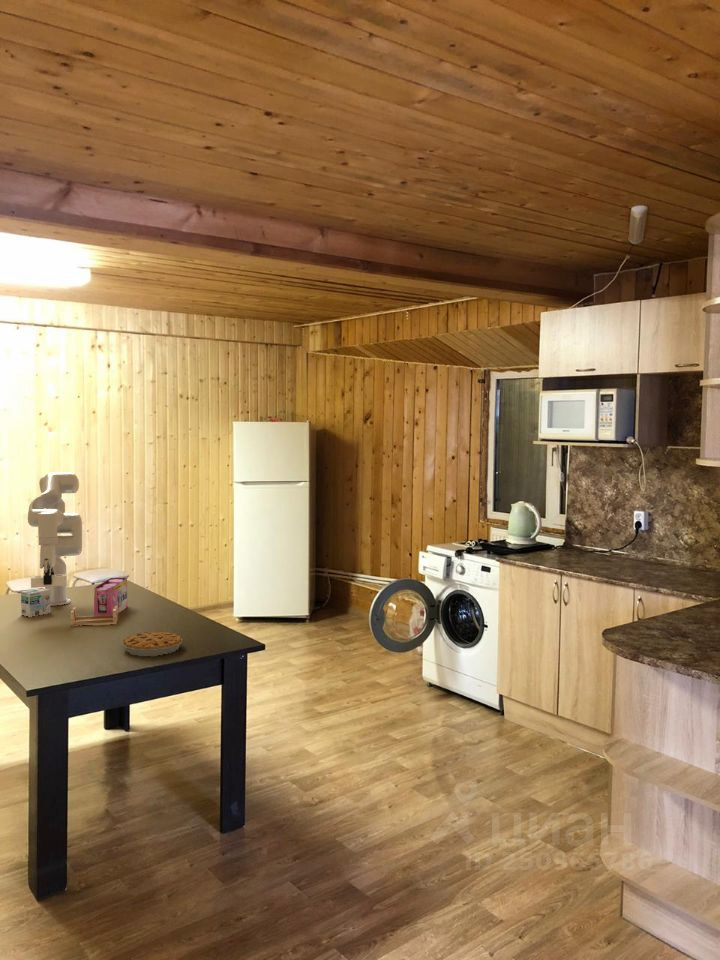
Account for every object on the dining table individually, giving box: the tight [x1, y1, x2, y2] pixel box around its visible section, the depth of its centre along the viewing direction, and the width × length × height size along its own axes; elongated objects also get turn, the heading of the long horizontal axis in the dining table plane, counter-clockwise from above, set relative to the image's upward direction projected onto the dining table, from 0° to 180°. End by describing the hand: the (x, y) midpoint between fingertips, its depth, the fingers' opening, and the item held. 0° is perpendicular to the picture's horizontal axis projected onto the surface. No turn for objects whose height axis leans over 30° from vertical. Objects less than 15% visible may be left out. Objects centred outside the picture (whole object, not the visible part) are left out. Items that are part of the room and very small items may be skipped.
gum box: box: [93, 577, 128, 616], centre depth 353 cm, size 24×8×14 cm, turn 179°
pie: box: [121, 631, 183, 657], centre depth 297 cm, size 22×22×5 cm
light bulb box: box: [20, 587, 52, 618], centre depth 349 cm, size 11×7×11 cm, turn 146°
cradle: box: [69, 606, 119, 627], centre depth 335 cm, size 8×18×6 cm, turn 102°
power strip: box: [30, 573, 68, 589], centre depth 336 cm, size 4×14×4 cm, turn 115°
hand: (49, 582), depth 336 cm, fingers closed on power strip, 5 cm apart
